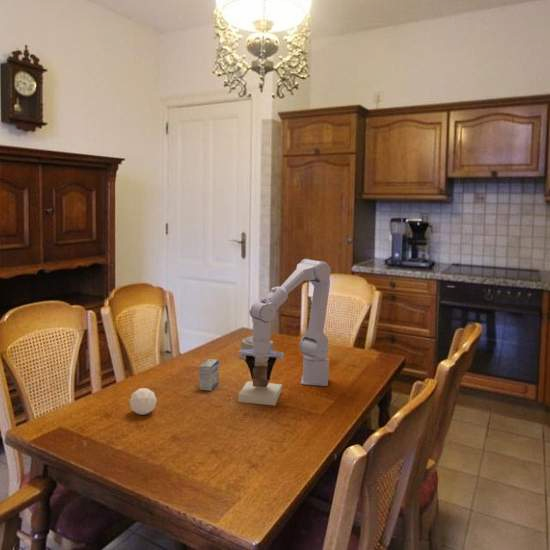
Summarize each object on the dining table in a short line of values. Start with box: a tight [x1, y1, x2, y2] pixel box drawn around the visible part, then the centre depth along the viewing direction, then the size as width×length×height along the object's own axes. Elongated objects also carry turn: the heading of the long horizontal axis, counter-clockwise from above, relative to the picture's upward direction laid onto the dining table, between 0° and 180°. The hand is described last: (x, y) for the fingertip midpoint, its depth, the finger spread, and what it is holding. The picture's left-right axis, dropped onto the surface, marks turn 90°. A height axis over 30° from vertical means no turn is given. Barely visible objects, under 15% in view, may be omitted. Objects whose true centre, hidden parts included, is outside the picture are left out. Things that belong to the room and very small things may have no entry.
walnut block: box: [252, 363, 270, 387], centre depth 162 cm, size 5×5×6 cm
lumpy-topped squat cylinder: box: [241, 335, 274, 364], centre depth 202 cm, size 10×13×9 cm
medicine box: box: [198, 358, 220, 392], centre depth 170 cm, size 8×4×9 cm, turn 168°
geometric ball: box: [129, 387, 158, 416], centre depth 148 cm, size 8×8×8 cm
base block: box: [238, 380, 283, 406], centre depth 163 cm, size 12×12×3 cm
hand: (260, 378), depth 162 cm, fingers closed on walnut block, 5 cm apart
